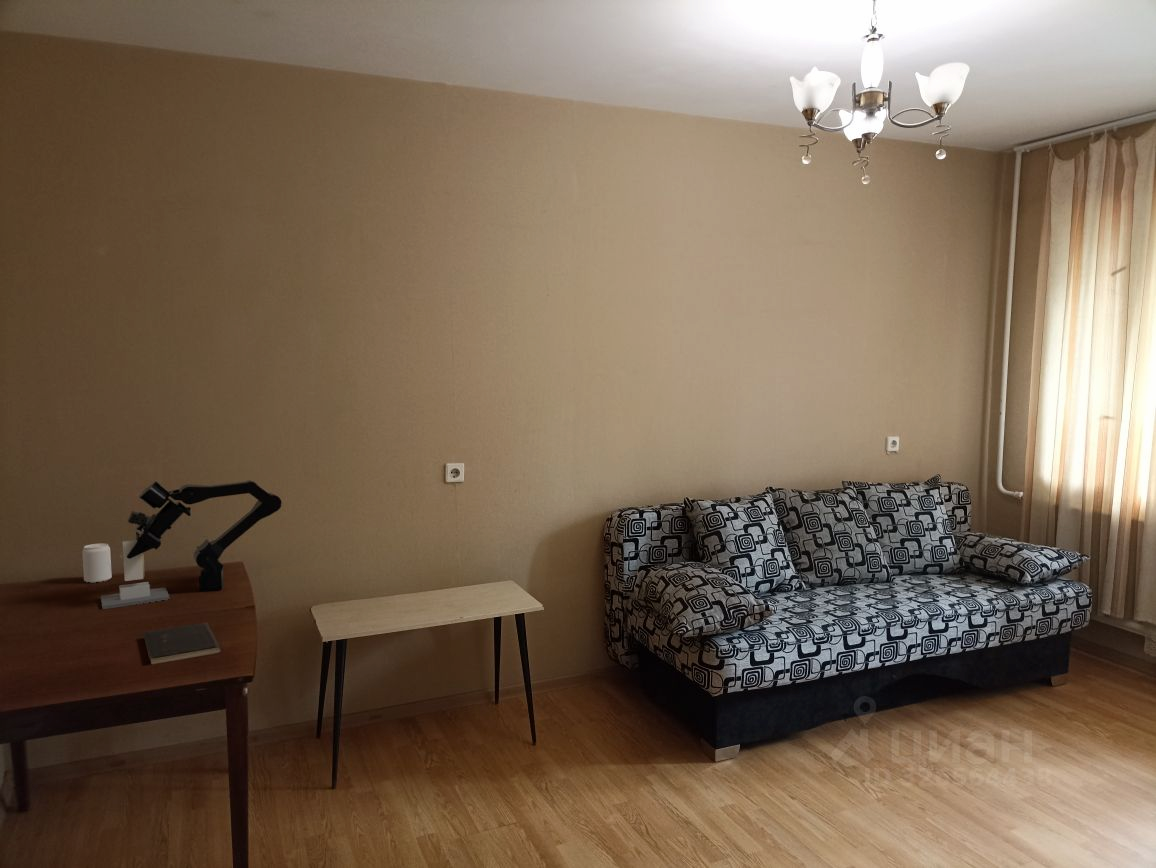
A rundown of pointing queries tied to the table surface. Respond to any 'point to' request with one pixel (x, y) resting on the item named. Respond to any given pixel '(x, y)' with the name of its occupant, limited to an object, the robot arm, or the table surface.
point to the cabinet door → (132, 562)
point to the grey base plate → (134, 595)
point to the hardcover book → (180, 643)
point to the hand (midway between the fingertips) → (127, 557)
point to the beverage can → (96, 563)
